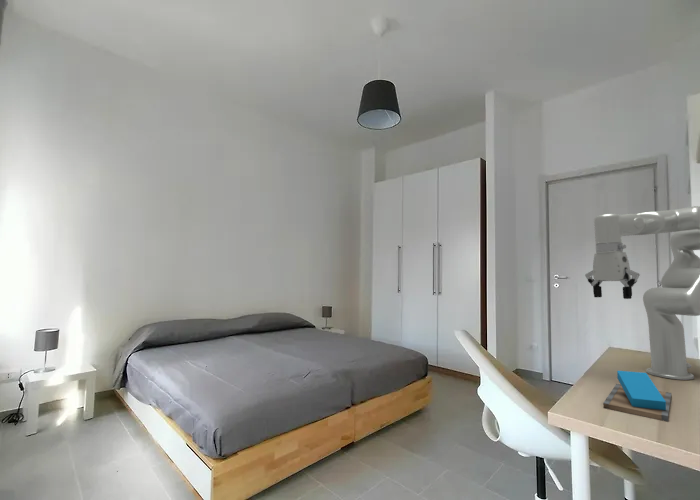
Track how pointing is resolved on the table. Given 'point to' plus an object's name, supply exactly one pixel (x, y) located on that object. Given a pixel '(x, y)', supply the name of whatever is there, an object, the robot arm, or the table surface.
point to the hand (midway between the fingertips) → (612, 297)
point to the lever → (641, 390)
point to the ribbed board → (621, 403)
